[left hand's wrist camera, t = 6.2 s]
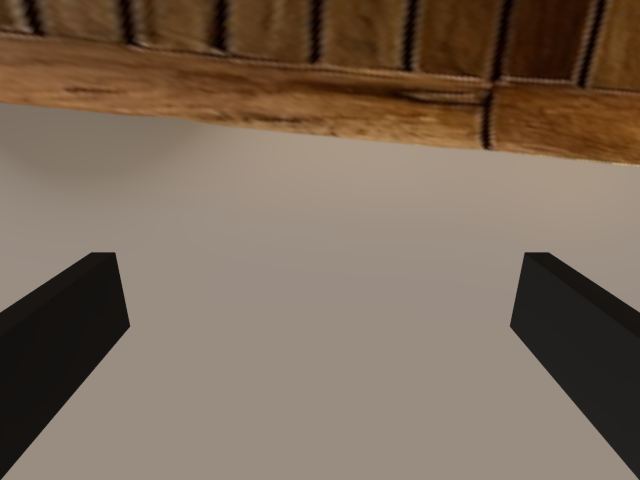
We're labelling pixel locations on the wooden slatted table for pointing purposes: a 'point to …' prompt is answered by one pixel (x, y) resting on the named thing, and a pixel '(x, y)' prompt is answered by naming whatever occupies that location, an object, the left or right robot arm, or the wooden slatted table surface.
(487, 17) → the wooden slatted table surface
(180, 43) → the wooden slatted table surface
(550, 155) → the wooden slatted table surface
